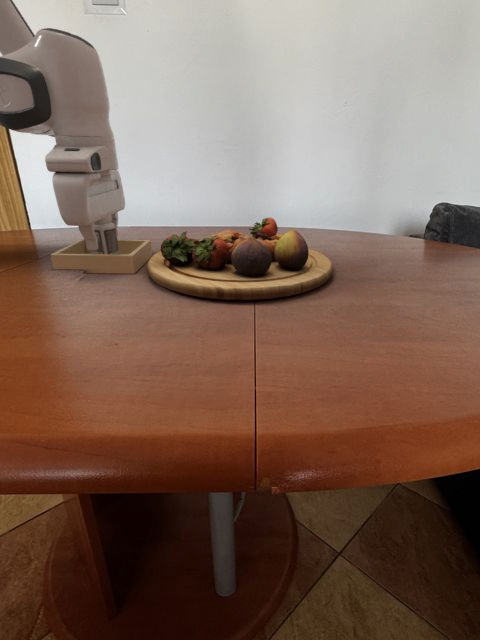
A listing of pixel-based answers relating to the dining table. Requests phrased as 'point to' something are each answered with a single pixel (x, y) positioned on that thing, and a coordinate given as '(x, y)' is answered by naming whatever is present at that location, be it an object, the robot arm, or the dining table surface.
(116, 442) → the dining table surface
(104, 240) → the pill bottle
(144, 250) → the tray
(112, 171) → the robot arm
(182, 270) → the wooden plate
